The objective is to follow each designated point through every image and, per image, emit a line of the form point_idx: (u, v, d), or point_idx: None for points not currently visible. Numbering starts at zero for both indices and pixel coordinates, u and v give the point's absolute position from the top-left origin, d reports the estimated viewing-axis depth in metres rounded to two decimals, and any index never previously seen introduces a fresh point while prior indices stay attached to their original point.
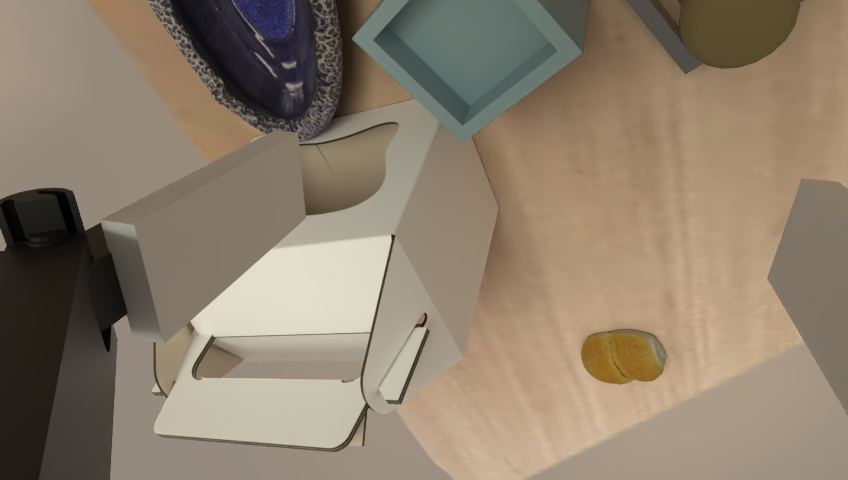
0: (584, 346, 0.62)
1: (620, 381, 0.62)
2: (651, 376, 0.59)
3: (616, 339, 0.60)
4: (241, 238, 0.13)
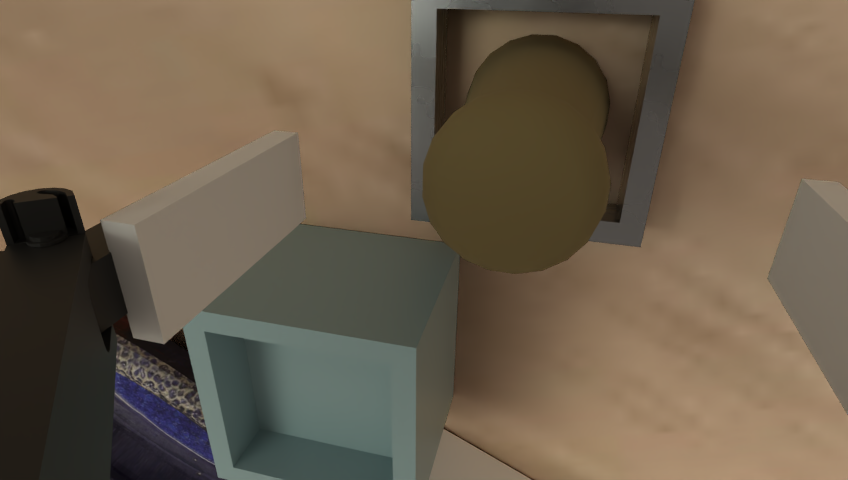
0: None
1: None
2: None
3: None
4: (241, 238, 0.13)
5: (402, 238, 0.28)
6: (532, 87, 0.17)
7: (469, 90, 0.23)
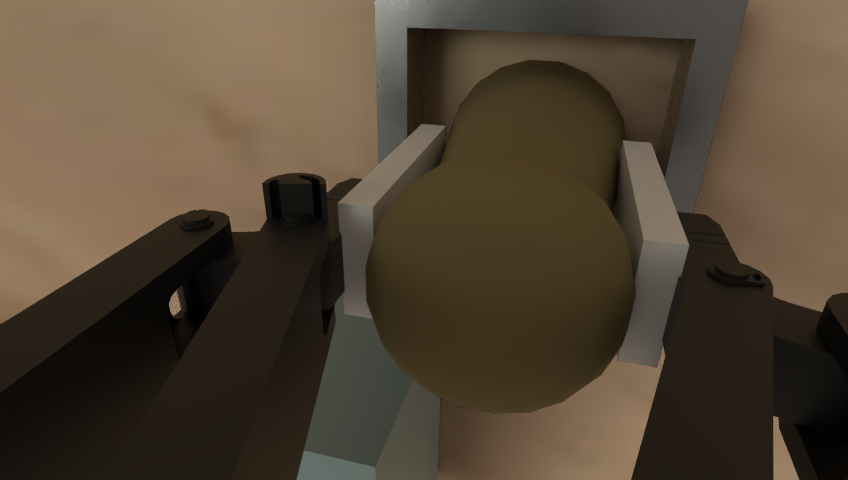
0: None
1: None
2: None
3: None
4: None
5: None
6: (525, 141, 0.12)
7: None
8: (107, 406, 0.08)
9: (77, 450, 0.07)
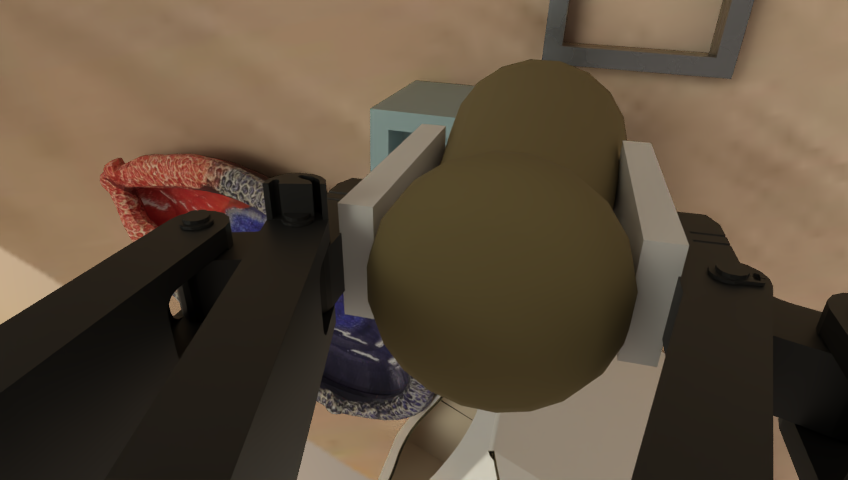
0: None
1: None
2: None
3: None
4: None
5: None
6: (526, 140, 0.12)
7: (452, 127, 0.19)
8: (107, 406, 0.08)
9: (76, 451, 0.07)
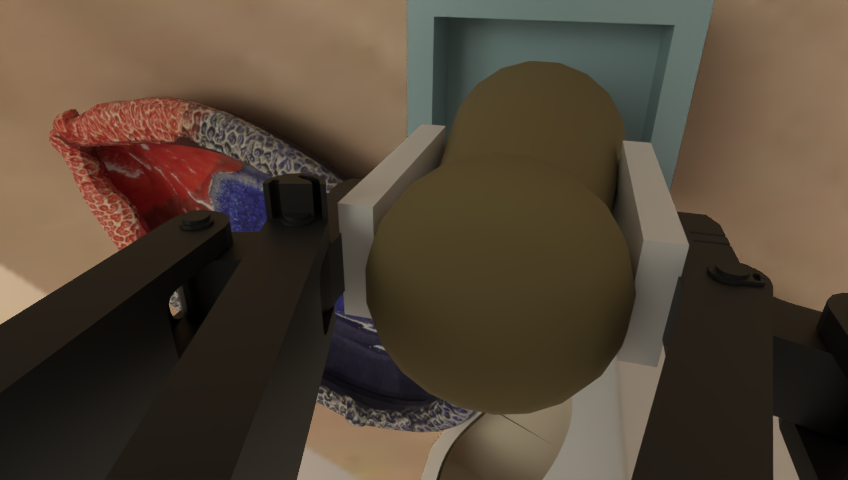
0: None
1: None
2: None
3: None
4: None
5: None
6: (525, 142, 0.12)
7: (451, 128, 0.19)
8: (107, 406, 0.08)
9: (78, 449, 0.07)
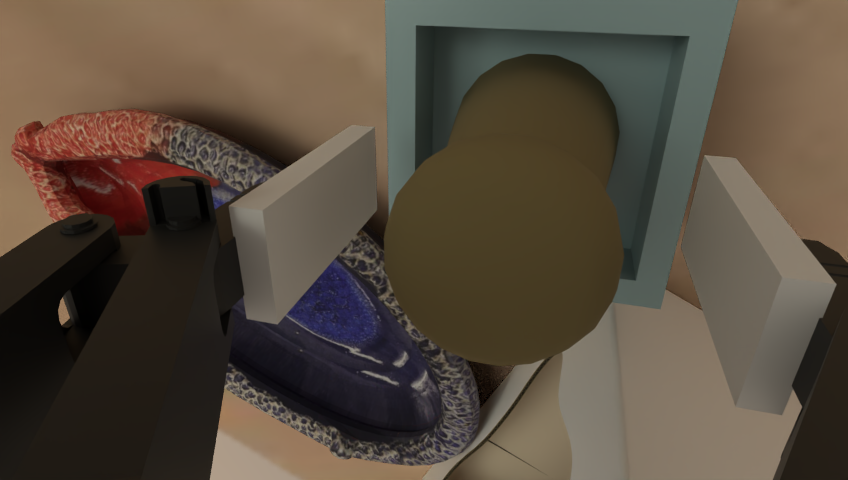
0: None
1: None
2: None
3: None
4: (333, 226, 0.14)
5: None
6: (525, 125, 0.13)
7: None
8: (2, 415, 0.08)
9: None
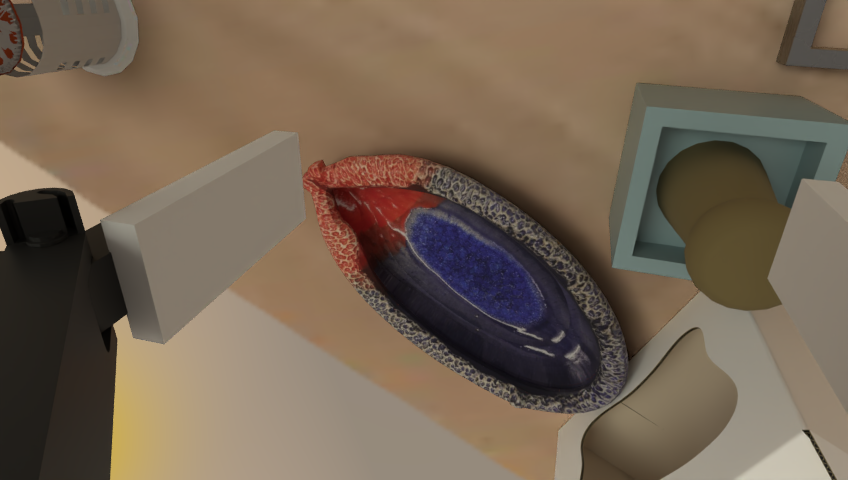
0: None
1: None
2: None
3: None
4: (241, 238, 0.13)
5: (750, 92, 0.35)
6: (749, 190, 0.26)
7: (664, 175, 0.32)
8: None
9: None
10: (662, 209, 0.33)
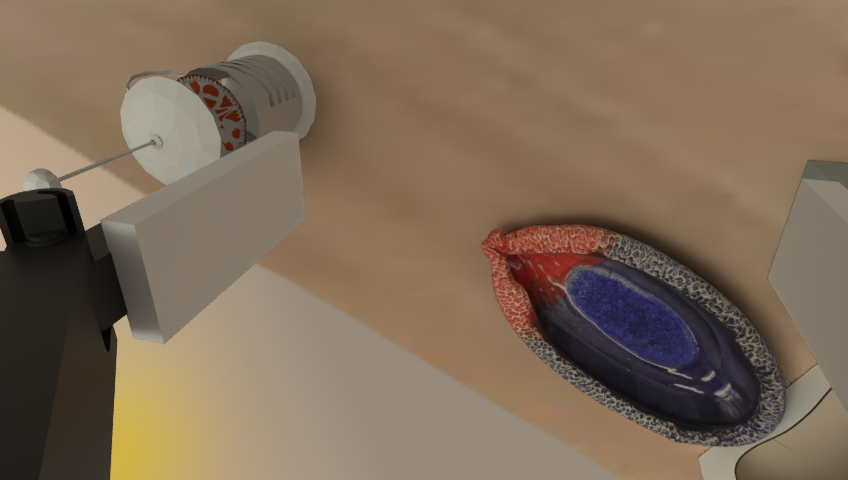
0: None
1: None
2: None
3: None
4: (241, 238, 0.13)
5: None
6: None
7: None
8: None
9: None
10: None
